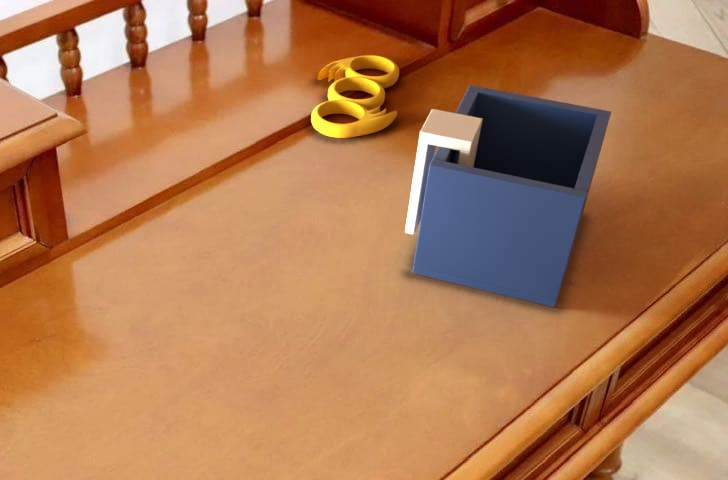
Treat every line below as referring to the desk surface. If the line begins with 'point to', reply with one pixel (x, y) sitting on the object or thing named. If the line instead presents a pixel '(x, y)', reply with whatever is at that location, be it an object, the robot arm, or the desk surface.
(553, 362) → the desk surface
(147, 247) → the desk surface
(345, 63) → the yellow winged triple ring
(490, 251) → the bin
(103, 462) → the desk surface
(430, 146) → the clip
